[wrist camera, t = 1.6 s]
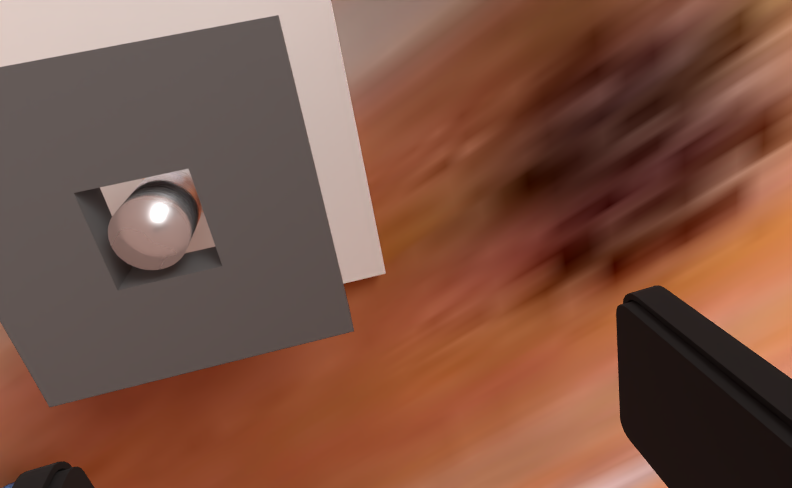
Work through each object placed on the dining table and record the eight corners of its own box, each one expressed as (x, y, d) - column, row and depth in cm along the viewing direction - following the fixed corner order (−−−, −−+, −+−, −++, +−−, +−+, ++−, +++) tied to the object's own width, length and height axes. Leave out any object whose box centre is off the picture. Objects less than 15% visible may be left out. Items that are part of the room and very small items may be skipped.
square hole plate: (-86, 83, 20) (-133, 91, 18) (278, 15, 22) (277, 15, 19) (70, 373, 26) (49, 407, 24) (348, 305, 28) (353, 331, 25)
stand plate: (-46, -7, 29) (-68, -9, 27) (314, -69, 31) (316, -74, 29) (111, 326, 38) (102, 341, 37) (381, 261, 40) (385, 273, 39)
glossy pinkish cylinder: (158, 134, 32) (83, 204, 20) (217, 122, 32) (179, 183, 21) (178, 190, 34) (120, 285, 22) (235, 177, 34) (208, 265, 22)
